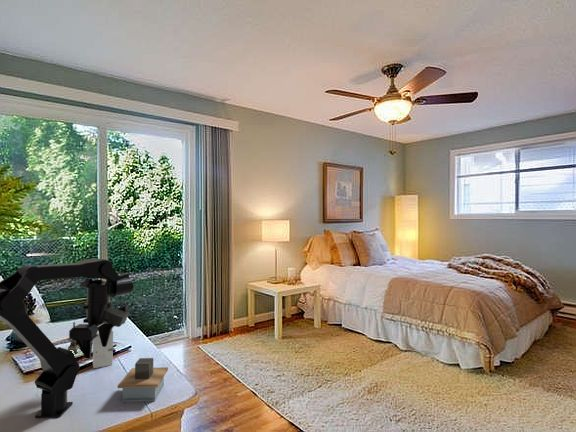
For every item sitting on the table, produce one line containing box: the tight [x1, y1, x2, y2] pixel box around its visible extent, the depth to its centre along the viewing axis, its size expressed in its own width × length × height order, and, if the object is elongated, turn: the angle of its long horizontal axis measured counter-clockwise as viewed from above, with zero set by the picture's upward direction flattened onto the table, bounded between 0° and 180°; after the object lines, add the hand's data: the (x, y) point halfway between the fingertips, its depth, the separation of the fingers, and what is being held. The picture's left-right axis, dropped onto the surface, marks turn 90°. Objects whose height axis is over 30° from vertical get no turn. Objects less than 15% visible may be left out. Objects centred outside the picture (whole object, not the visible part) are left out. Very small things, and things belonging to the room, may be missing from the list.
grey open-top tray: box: [122, 377, 165, 403], centre depth 104 cm, size 9×9×4 cm
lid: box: [117, 357, 169, 389], centre depth 104 cm, size 11×11×5 cm
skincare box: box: [92, 328, 114, 369], centre depth 123 cm, size 6×4×12 cm
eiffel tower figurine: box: [67, 321, 81, 354], centre depth 133 cm, size 15×10×13 cm
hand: (96, 352), depth 105 cm, fingers open, 9 cm apart
